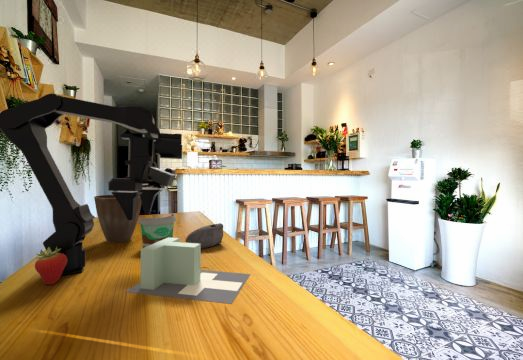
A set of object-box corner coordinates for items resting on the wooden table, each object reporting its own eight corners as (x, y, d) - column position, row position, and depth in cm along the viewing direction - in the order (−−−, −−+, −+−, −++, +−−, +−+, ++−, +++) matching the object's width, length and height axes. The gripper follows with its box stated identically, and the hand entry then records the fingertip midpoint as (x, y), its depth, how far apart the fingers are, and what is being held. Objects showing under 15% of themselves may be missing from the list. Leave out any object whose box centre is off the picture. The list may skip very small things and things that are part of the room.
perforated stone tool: (190, 254, 75) (190, 230, 75) (180, 250, 78) (180, 228, 78) (228, 244, 86) (228, 223, 86) (218, 241, 89) (218, 222, 89)
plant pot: (151, 239, 92) (151, 195, 91) (108, 248, 79) (108, 198, 79) (128, 233, 100) (128, 193, 99) (85, 242, 87) (85, 196, 87)
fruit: (35, 282, 54) (35, 245, 54) (66, 276, 57) (66, 241, 57) (34, 291, 50) (33, 251, 50) (68, 284, 53) (67, 246, 53)
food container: (148, 252, 75) (148, 219, 75) (138, 249, 79) (138, 217, 79) (183, 244, 85) (183, 214, 85) (173, 241, 89) (173, 213, 89)
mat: (124, 293, 49) (124, 291, 49) (165, 267, 63) (165, 266, 63) (231, 305, 45) (231, 303, 45) (250, 275, 59) (250, 274, 59)
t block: (140, 288, 51) (140, 249, 51) (168, 270, 61) (168, 237, 61) (185, 293, 49) (186, 252, 49) (206, 273, 59) (207, 239, 59)
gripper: (157, 154, 56) (155, 224, 56) (182, 160, 75) (181, 213, 75) (107, 153, 56) (105, 223, 56) (145, 159, 75) (144, 212, 75)
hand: (139, 217), depth 65 cm, fingers open, 9 cm apart
